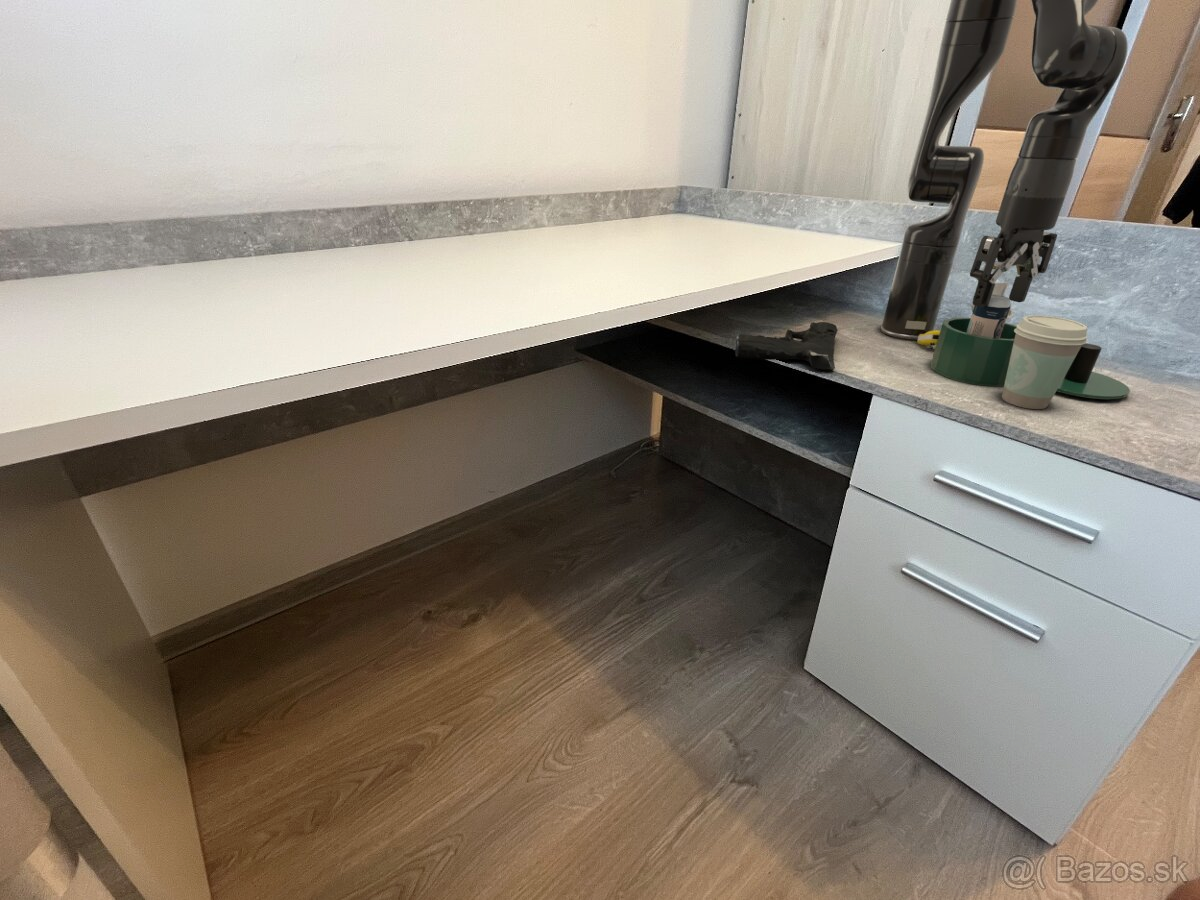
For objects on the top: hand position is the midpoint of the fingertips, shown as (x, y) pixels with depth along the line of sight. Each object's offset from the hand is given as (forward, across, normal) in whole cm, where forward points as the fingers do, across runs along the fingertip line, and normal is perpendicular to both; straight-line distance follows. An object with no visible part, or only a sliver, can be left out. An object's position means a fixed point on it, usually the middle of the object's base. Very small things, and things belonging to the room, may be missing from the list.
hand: (998, 303), depth 95 cm
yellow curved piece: (+12, +6, +10) cm, 17 cm away
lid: (+11, +9, -10) cm, 17 cm away
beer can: (+11, -1, 0) cm, 11 cm away
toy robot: (+12, +14, +10) cm, 21 cm away
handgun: (+10, -16, +15) cm, 24 cm away
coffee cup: (+12, -5, -12) cm, 17 cm away
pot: (+11, -1, 0) cm, 11 cm away
